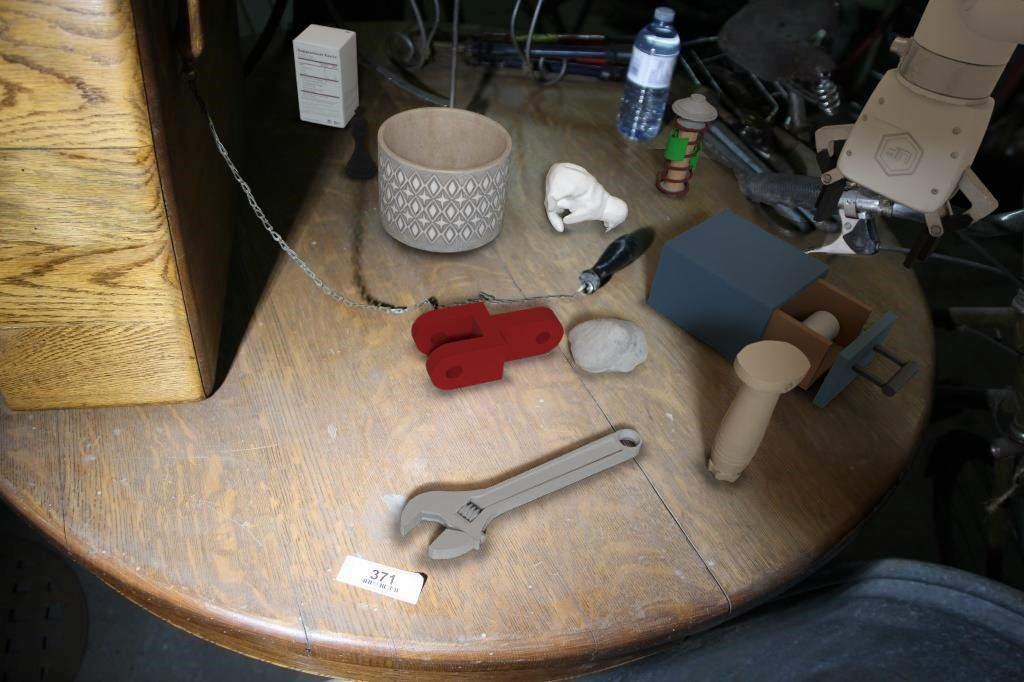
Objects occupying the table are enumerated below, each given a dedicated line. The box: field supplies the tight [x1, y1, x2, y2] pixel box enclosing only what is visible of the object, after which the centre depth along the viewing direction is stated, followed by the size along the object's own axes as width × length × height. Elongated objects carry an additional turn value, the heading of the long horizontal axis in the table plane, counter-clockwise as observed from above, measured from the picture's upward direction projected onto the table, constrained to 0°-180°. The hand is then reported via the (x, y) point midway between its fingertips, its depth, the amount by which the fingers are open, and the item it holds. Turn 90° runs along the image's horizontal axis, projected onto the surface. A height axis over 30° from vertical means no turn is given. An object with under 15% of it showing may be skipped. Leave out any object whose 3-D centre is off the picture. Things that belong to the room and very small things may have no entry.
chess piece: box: [344, 105, 378, 180], centre depth 105 cm, size 4×4×10 cm
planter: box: [377, 106, 513, 254], centre depth 96 cm, size 16×16×13 cm
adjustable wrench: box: [399, 428, 643, 560], centre depth 69 cm, size 25×6×2 cm, turn 117°
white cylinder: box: [802, 311, 840, 341], centre depth 85 cm, size 7×4×4 cm, turn 133°
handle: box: [707, 341, 811, 483], centre depth 69 cm, size 5×6×15 cm
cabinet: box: [646, 208, 831, 363], centre depth 89 cm, size 15×13×9 cm
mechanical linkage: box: [410, 301, 565, 391], centre depth 81 cm, size 16×7×5 cm, turn 112°
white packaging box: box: [292, 23, 360, 129], centre depth 116 cm, size 7×7×13 cm
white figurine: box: [543, 162, 629, 233], centre depth 101 cm, size 6×8×12 cm
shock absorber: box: [656, 93, 719, 197], centre depth 108 cm, size 6×6×15 cm
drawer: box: [761, 278, 921, 410], centre depth 83 cm, size 18×11×7 cm, turn 43°
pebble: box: [567, 317, 649, 374], centre depth 83 cm, size 9×8×5 cm
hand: (865, 239), depth 75 cm, fingers open, 9 cm apart
